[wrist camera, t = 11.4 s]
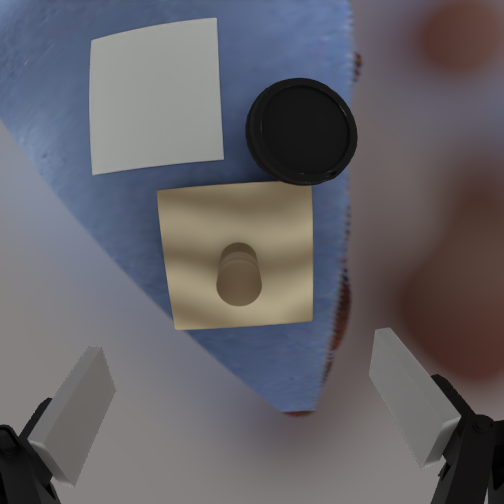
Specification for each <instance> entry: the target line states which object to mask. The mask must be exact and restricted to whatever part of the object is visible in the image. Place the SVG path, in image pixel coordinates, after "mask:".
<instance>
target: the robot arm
mask: <svg viewBox="0 0 504 504" xmlns="http://www.w3.org/2000/svg"><path fill="white" fill-rule="evenodd" d="M369 376H370V378H371V380H372V381H373V383H374V385H375V387H376V388H377V390H378V392H379V394H380V396H381V397H382V399H383V401H384V403H385V404H386V406H387V408H388V410H389V411H390V413H391V415H392V417H393V419H394V421H395V422H396V424H397V426H398V428H399V430H400V431H401V433H402V435H403V437H404V439H405V440H406V442H407V444H408V446H409V448H410V450H411V452H412V453H413V455H414V457H415V459H416V461H417V463H418V465H419V467H420V469H421V470H422V469H425V468H428V467H430V466H433V465H436V464H438V462H439V460H440V458H441V456H442V455H443V456H444V458H445V459H446V463H445V465H444V466H443V468H442V469H441V471H440V473H439V474H438V476H440V479H439V482H438V485H437V488H436V490H435V493H434V496H433V499H432V501H431V504H484V501H485V496H486V492H487V487H488V504H504V420H501V421H493V419H491V418H490V417H488V416H485V415H478V414H477V415H476V414H475V413H474V411H473V410H472V409H471V408H470V406H469V405H468V404H467V403H466V402H465V400H464V399H463V398H462V397H461V396H460V394H458V392H457V391H456V390H455V389H453V386H452V385H451V384H450V383H449V381H448V380H447V379H445V378H444V377H442V376H440V375H439V374H436V375H432V376H429V374H428V373H427V372H426V371H425V370H424V368H423V367H422V366H421V365H420V363H419V362H418V361H417V360H416V359H415V357H414V356H413V355H412V354H411V352H410V351H409V350H408V349H407V348H406V346H405V345H404V344H403V343H402V342H401V340H400V339H399V338H398V337H397V336H396V335H395V333H394V332H393V331H392V330H391V329H390V328H384V329H378V330H376V331H375V338H374V345H373V352H372V359H371V365H370V371H369ZM115 392H116V388H115V386H114V383H113V380H112V377H111V374H110V371H109V368H108V365H107V362H106V359H105V356H104V353H103V350H102V347H88V348H87V349H86V351H85V352H84V354H83V355H82V356H81V358H80V359H79V361H78V362H77V363H76V365H75V366H74V368H73V370H72V371H71V372H70V374H69V375H68V377H67V378H66V380H65V381H64V382H63V384H62V385H61V387H60V388H59V390H58V391H57V393H56V395H55V396H54V397H53V398H47V399H46V400H44V401H43V402H42V403H41V404H40V405H39V406H38V408H37V409H36V411H35V413H34V414H33V415H32V417H31V419H30V420H29V421H28V423H27V424H26V426H25V428H24V429H23V431H22V432H21V434H20V435H19V437H18V436H17V435H16V433H15V431H14V430H13V428H11V427H10V426H9V425H0V504H61V503H60V500H59V498H58V496H57V493H56V491H55V489H54V486H53V485H52V483H51V482H50V480H51V478H52V476H54V477H55V479H56V480H57V481H58V483H60V484H63V485H67V486H71V487H75V485H76V482H77V480H78V478H79V475H80V473H81V470H82V468H83V465H84V463H85V460H86V458H87V456H88V453H89V451H90V448H91V446H92V444H93V441H94V439H95V437H96V434H97V432H98V430H99V427H100V425H101V423H102V421H103V419H104V416H105V414H106V412H107V410H108V407H109V405H110V403H111V401H112V399H113V396H114V394H115Z"/></svg>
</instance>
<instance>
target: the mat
mask: <svg viewBox="0 0 504 504" xmlns="http://www.w3.org/2000/svg"><path fill="white" fill-rule="evenodd" d="M89 114H90V143H91V160H92V173H93V175H98V174H104V173H110V172H117V171H124V170H131V169H138V168H146V167H154V166H162V165H171V164H181V163H191V162H202V161H214V160H224V151H223V134H222V116H221V97H220V77H219V56H218V31H217V18H206V19H196V20H188V21H180V22H173V23H167V24H161V25H155V26H150V27H144V28H139V29H135V30H130V31H126V32H121V33H117V34H113V35H109V36H105V37H102V38H98V39H94V40H92V41H91V57H90V85H89Z"/></svg>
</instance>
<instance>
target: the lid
mask: <svg viewBox="0 0 504 504" xmlns="http://www.w3.org/2000/svg"><path fill="white" fill-rule="evenodd" d="M157 202H158V212H159V221H160V230H161V238H162V246H163V254H164V261H165V268H166V275H167V282H168V289H169V295H170V301H171V307H172V313H173V319H174V325H175V329H176V330H188V329H211V328H229V327H245V326H259V325H272V324H284V323H295V322H305V321H312V316H313V218H312V185H311V186H297V185H291V184H286V183H283V182H281V181H264V182H247V183H232V184H218V185H205V186H194V187H183V188H173V189H163V190H157Z"/></svg>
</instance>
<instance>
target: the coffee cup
mask: <svg viewBox="0 0 504 504" xmlns="http://www.w3.org/2000/svg"><path fill="white" fill-rule="evenodd" d="M246 140H247V145H248V148H249V150H250V153H251V155H252V157H253V159H254V160H255V161H256V163H257V164H258V166H259V167H260V168H261V169H262V170H263V171H265V172H266V173H267V174H268V175H270V176H271V177H273V178H274V179H276V180H279V181H281V182H283V183H286V184H291V185H297V186H311V185H317V184H320V183H323V182H325V181H328V180H331V179H334V178H335V177H337V176H338V175H339V174H340V173H341V172H342V171H343V170H344V169H345V167H346V166H347V165H348V164H349V162H350V161H351V159H352V157H353V156H354V153H355V150H356V147H357V128H356V124H355V120H354V117H353V115H352V113H351V111H350V109H349V107H348V106H347V104H346V103H345V101H344V100H343V99H342V98H341V97H340V96H339V95H338V94H337V93H336V92H335V91H334V90H332V89H331V88H330V87H328V86H327V85H325V84H323V83H321V82H319V81H315V80H312V79H307V78H293V79H287V80H283V81H280V82H277V83H274V84H273V85H271V86H269V87H268V88H266V89H265V90H264V91H263V92H262V93H261V94H260V95H259V96H258V97H257V98H256V100H255V101H254V103H253V104H252V107H251V109H250V111H249V114H248V116H247V121H246Z"/></svg>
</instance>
